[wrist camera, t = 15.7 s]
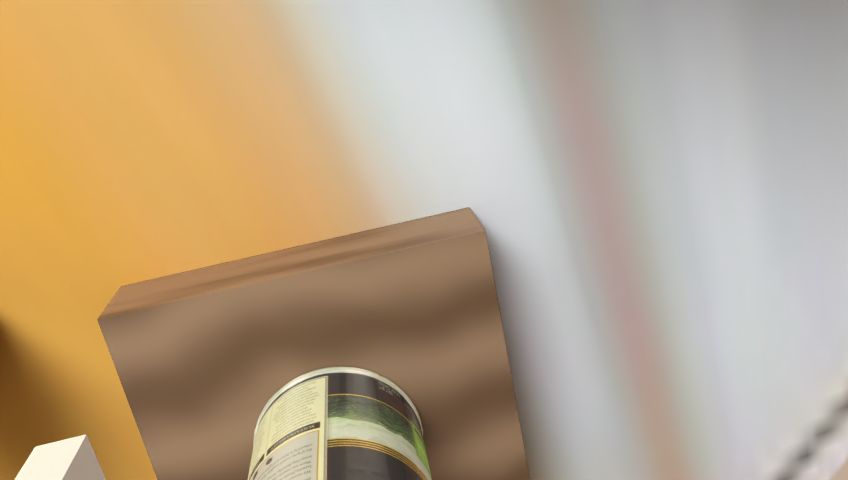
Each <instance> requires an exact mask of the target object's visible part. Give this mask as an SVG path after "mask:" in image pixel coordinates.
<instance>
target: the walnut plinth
mask: <svg viewBox="0 0 848 480" xmlns="http://www.w3.org/2000/svg"><path fill="white" fill-rule="evenodd" d="M97 320H98V323H99V325H100V328H101V331H102V333H103V336H104V338H105V341H106V344H107V346H108V349H109V352H110V354H111V357H112V360H113V362H114V365H115V368H116V370H117V373H118V376H119V378H120V381H121V384H122V386H123V389H124V392H125V394H126V397H127V400H128V402H129V405H130V408H131V410H132V413H133V415H134V418H135V421H136V423H137V426H138V429H139V431H140V434H141V437H142V439H143V442H144V445H145V447H146V450H147V453H148V455H149V458H150V461H151V463H152V466H153V469H154V471H155V474H156V477H157V479H158V480H248V475H249V469H250V463H251V458H252V452H253V441H254V431H255V428H256V424H257V421H258V418H259V416H260V414H261V412H262V410H263V409H264V407H265V405H266V403H267V402H268V401H269V399H270V398H271V397H272V396H273V395H274V394H275V393H276V392H277V391H279V390H280V389H281V388H282V387H283V386H284V385H286V384H287V383H289V382H290V381H292V380H293V379H295V378H297V377H299V376H301V375H303V374H306V373H309V372H311V371H314V370H318V369H322V368H328V367H355V368H360V369H365V370H368V371H372V372H375V373H377V374H379V375H381V376H384V377H386V378H387V379H389V380H391V381H392V382H393V383H395V384H396V385H397V386H398V387H399V388H401V389H402V390H403V391H404V392H405V394H406V395H407V396H408V397H409V398H410V400H411V401H412V403H413V404H414V406H415V408H416V410H417V412H418V414H419V417H420V420H421V423H422V429H423V440H424V444H425V450H426V455H427V459H428V464H429V469H430V473H431V478H432V480H530V477H529V472H528V466H527V461H526V455H525V449H524V444H523V438H522V433H521V427H520V422H519V416H518V410H517V405H516V399H515V394H514V388H513V382H512V377H511V371H510V366H509V360H508V355H507V349H506V343H505V338H504V332H503V327H502V321H501V316H500V310H499V304H498V299H497V293H496V288H495V282H494V277H493V271H492V265H491V260H490V254H489V249H488V243H487V237H486V232H485V230H484V228H483V227H482V225H481V224H480V222H479V221H478V219H477V218H476V216H475V215H474V213H473V212H472V211H471V209H470V208H464V209H460V210H456V211H451V212H447V213H442V214H438V215H434V216H429V217H425V218H420V219H416V220H412V221H407V222H403V223H398V224H394V225H390V226H385V227H381V228H376V229H372V230H367V231H363V232H359V233H354V234H350V235H345V236H341V237H337V238H332V239H328V240H323V241H319V242H315V243H310V244H306V245H301V246H297V247H293V248H288V249H284V250H279V251H275V252H271V253H266V254H262V255H257V256H253V257H249V258H244V259H240V260H235V261H231V262H226V263H222V264H218V265H213V266H209V267H204V268H200V269H196V270H191V271H187V272H182V273H178V274H174V275H169V276H165V277H160V278H156V279H152V280H147V281H143V282H138V283H134V284H130V285H125V286H121V287H120V289H119V290H118V291H117V293H116V294H115V296H114V297H113V298H112V300H111V301H110V303H109V304H108V305H107V307H106V308H105V310H104V311H103V312H102V314H101V315H100V317H99V318H98V319H97Z"/></svg>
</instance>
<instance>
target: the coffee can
mask: <svg viewBox="0 0 848 480" xmlns="http://www.w3.org/2000/svg"><path fill="white" fill-rule="evenodd" d="M248 480H432V478H431V473H430V469H429V464H428V459H427V455H426V450H425V444H424V440H423V429H422V423H421V420H420V417H419V414H418V412H417V410H416V408H415V406H414V404H413V403H412V401H411V400H410V398H409V397H408V396H407V395H406V394H405V392H404V391H403V390H402V389H401V388H399V387H398V386H397V385H396V384H395V383H393V382H392V381H391V380H389V379H387V378H386V377H384V376H381V375H379V374H377V373H375V372H372V371H368V370H365V369H360V368H355V367H328V368H322V369H318V370H314V371H311V372H309V373H306V374H303V375H301V376H299V377H297V378H295V379H293V380H292V381H290V382H289V383H287V384H286V385H284V386H283V387H282V388H281V389H280V390H279V391H277V392H276V393H275V394H274V395H273V396H272V397H271V398H270V399H269V401H268V402H267V403H266V405H265V407H264V409H263V410H262V412H261V414H260V416H259V418H258V421H257V424H256V428H255V431H254V441H253V452H252V458H251V463H250V469H249V475H248Z"/></svg>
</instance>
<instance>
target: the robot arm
mask: <svg viewBox="0 0 848 480" xmlns="http://www.w3.org/2000/svg"><path fill="white" fill-rule="evenodd" d="M14 480H106V478H105V476H104V474H103V471H102V469H101V467H100V464H99V462H98V460H97V457H96V455H95V453H94V450H93V448H92V446H91V444H90V441H89V439H88V437H87V434H86V435H82V436H77V437H73V438H69V439H65V440H61V441H56V442H52V443H48V444H44V445H40V446H35V448H34V450H33V451H32V453H31V454H30V456H29V457H28V459H27V461H26V462H25V464H24V465H23V467H22V468H21V470H20V472H19V473H18V475H17V476H16V478H15V479H14Z"/></svg>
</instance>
